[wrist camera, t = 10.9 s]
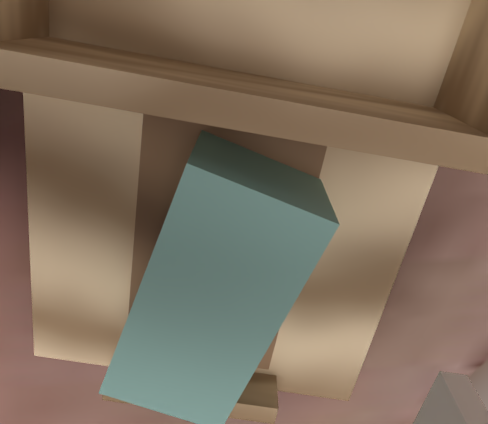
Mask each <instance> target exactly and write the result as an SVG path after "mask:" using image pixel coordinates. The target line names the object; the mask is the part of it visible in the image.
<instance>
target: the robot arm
mask: <svg viewBox="0 0 488 424" xmlns="http://www.w3.org/2000/svg"><path fill="white" fill-rule="evenodd" d="M413 424H488V411H487V409H486V407H485V405H484V404H483V402H482V400H481V399H480V397H479V395H478V393H477V391H476V390H475V388H474V386H473V385H472V383H471V381H470V379H469V378H468V376H467V375H463V374H456V373H449V372H442V371H440V372H439V374H438V376H437V378H436V380H435V382H434V384H433V386H432V387H431V389H430V391H429V393H428V395H427V397H426V399H425V401H424V403H423V405H422V407H421V409H420V411H419V413H418V415H417V417H416V419H415V421H414V422H413Z"/></svg>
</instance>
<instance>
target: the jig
mask: <svg viewBox="0 0 488 424" xmlns="http://www.w3.org/2000/svg"><path fill="white" fill-rule="evenodd" d="M0 88H1V89H6V90H12V91H18V92H23V103H24V127H25V150H26V174H27V198H28V221H29V245H30V268H31V292H32V316H33V339H34V356H41V357H48V358H55V359H61V360H68V361H75V362H82V363H89V364H96V365H103V366H109V365H110V362H111V360H112V357H113V354H114V352H115V349H116V347H117V344H118V341H119V339H120V336H121V334H122V331H123V328H124V326H125V323H126V320H127V318H128V315H129V313H130V310H131V307H132V305H133V302H134V300H135V297H136V294H137V292H138V289H139V286H140V284H141V281H142V279H143V276H144V273H145V271H146V268H147V266H148V263H149V260H150V258H151V255H152V253H153V250H154V247H155V245H156V242H157V239H158V237H159V234H160V232H161V229H162V226H163V224H164V221H165V219H166V216H167V213H168V211H169V208H170V205H171V203H172V200H173V198H174V195H175V192H176V190H177V187H178V185H179V182H180V179H181V177H182V174H183V172H184V169H185V166H186V164H187V161H188V159H189V157H190V155H191V153H192V150H193V148H194V146H195V144H196V142H197V139H198V137H199V135H200V133H201V131H202V130H203V131H206V132H208V133H211V134H213V135H215V136H218V137H220V138H223V139H225V140H227V141H230V142H232V143H235V144H237V145H239V146H242V147H244V148H247V149H249V150H251V151H254V152H256V153H259V154H261V155H263V156H266V157H268V158H271V159H273V160H275V161H278V162H280V163H283V164H285V165H288V166H290V167H292V168H295V169H297V170H300V171H302V172H304V173H307V174H309V175H312V176H314V177H316V178H319V179H321V181H322V183H323V185H324V188H325V190H326V193H327V195H328V197H329V200H330V202H331V205H332V207H333V210H334V212H335V214H336V217H337V219H338V222H339V224H340V225H339V227H338V229H337V230H336V232H335V234H334V235H333V237H332V239H331V241H330V242H329V244H328V246H327V248H326V249H325V251H324V253H323V254H322V256H321V258H320V260H319V261H318V263H317V265H316V267H315V268H314V270H313V272H312V273H311V275H310V277H309V279H308V280H307V282H306V284H305V285H304V287H303V289H302V291H301V292H300V294H299V296H298V298H297V299H296V301H295V303H294V304H293V306H292V308H291V310H290V311H289V313H288V315H287V317H286V318H285V320H284V322H283V323H282V325H281V327H280V329H279V330H278V332H277V334H276V336H275V337H274V339H273V341H272V342H271V344H270V346H269V348H268V349H267V351H266V353H265V355H264V356H263V358H262V360H261V361H260V363H259V365H258V367H257V368H256V370H255V372H254V374H253V375H252V377H251V379H250V380H249V382H248V384H247V386H246V387H245V389H244V391H243V392H242V394H241V396H240V398H239V399H238V401H237V403H236V405H235V406H234V408H233V410H232V411H231V413H230V415H229V417H228V418H234V419H242V420H249V421H256V422H263V423H270V424H274V422H275V419H276V416H277V412H278V395H277V391H283V392H290V393H297V394H304V395H310V396H317V397H324V398H331V399H338V400H345V401H349V399H350V396H351V393H352V391H353V388H354V386H355V383H356V380H357V378H358V375H359V373H360V370H361V367H362V365H363V362H364V360H365V357H366V354H367V352H368V349H369V347H370V344H371V341H372V339H373V336H374V334H375V331H376V328H377V326H378V323H379V320H380V318H381V315H382V313H383V310H384V307H385V305H386V302H387V300H388V297H389V294H390V292H391V289H392V287H393V284H394V281H395V279H396V276H397V274H398V271H399V268H400V266H401V263H402V261H403V258H404V255H405V253H406V250H407V248H408V245H409V242H410V240H411V237H412V234H413V232H414V229H415V227H416V224H417V221H418V219H419V216H420V214H421V211H422V208H423V206H424V203H425V201H426V198H427V195H428V193H429V190H430V188H431V185H432V182H433V180H434V177H435V175H436V172H437V169H438V167H439V166H442V167H447V168H453V169H459V170H464V171H470V172H476V173H481V174H487V175H488V0H0ZM102 400H106V401H113V402H120V403H127V404H132V403H128V402H125V401H122V400H119V399H115V398H112V397H109V396H106V395H102Z"/></svg>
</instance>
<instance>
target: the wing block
mask: <svg viewBox="0 0 488 424" xmlns="http://www.w3.org/2000/svg"><path fill="white" fill-rule="evenodd" d="M339 225H340V224H339V222H338V219H337V217H336V214H335V212H334V210H333V207H332V205H331V202H330V200H329V197H328V195H327V193H326V190H325V188H324V185H323V183H322V181H321V179H319V178H316V177H314V176H312V175H309V174H307V173H304V172H302V171H300V170H297V169H295V168H292V167H290V166H288V165H285V164H283V163H280V162H278V161H275V160H273V159H271V158H268V157H266V156H263V155H261V154H259V153H256V152H254V151H251V150H249V149H247V148H244V147H242V146H239V145H237V144H235V143H232V142H230V141H227V140H225V139H223V138H220V137H218V136H215V135H213V134H211V133H208V132H206V131H203V130H202V131H201V133H200V135H199V137H198V139H197V142H196V144H195V146H194V148H193V150H192V153H191V155H190V157H189V159H188V161H187V164H186V166H185V169H184V172H183V174H182V177H181V179H180V182H179V185H178V187H177V190H176V192H175V195H174V198H173V200H172V203H171V205H170V208H169V211H168V213H167V216H166V219H165V221H164V224H163V226H162V229H161V232H160V234H159V237H158V239H157V242H156V245H155V247H154V250H153V253H152V255H151V258H150V260H149V263H148V266H147V268H146V271H145V273H144V276H143V279H142V281H141V284H140V286H139V289H138V292H137V294H136V297H135V300H134V302H133V305H132V307H131V310H130V313H129V315H128V318H127V320H126V323H125V326H124V328H123V331H122V334H121V336H120V339H119V341H118V344H117V347H116V349H115V352H114V354H113V357H112V360H111V362H110V365H109V367H108V370H107V373H106V375H105V378H104V381H103V383H102V386H101V388H100V391H99V394H102V395H106V396H109V397H112V398H115V399H119V400H122V401H125V402H128V403H132V404H135V405H138V406H141V407H145V408H148V409H151V410H154V411H158V412H161V413H164V414H167V415H170V416H174V417H177V418H180V419H183V420H187V421H190V422H193V423H196V424H225V422H226V420H227V418H228V417H229V415H230V413H231V411H232V410H233V408H234V406H235V405H236V403H237V401H238V399H239V398H240V396H241V394H242V392H243V391H244V389H245V387H246V386H247V384H248V382H249V380H250V379H251V377H252V375H253V374H254V372H255V370H256V368H257V367H258V365H259V363H260V361H261V360H262V358H263V356H264V355H265V353H266V351H267V349H268V348H269V346H270V344H271V342H272V341H273V339H274V337H275V336H276V334H277V332H278V330H279V329H280V327H281V325H282V323H283V322H284V320H285V318H286V317H287V315H288V313H289V311H290V310H291V308H292V306H293V304H294V303H295V301H296V299H297V298H298V296H299V294H300V292H301V291H302V289H303V287H304V285H305V284H306V282H307V280H308V279H309V277H310V275H311V273H312V272H313V270H314V268H315V267H316V265H317V263H318V261H319V260H320V258H321V256H322V254H323V253H324V251H325V249H326V248H327V246H328V244H329V242H330V241H331V239H332V237H333V235H334V234H335V232H336V230H337V229H338V227H339Z"/></svg>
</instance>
